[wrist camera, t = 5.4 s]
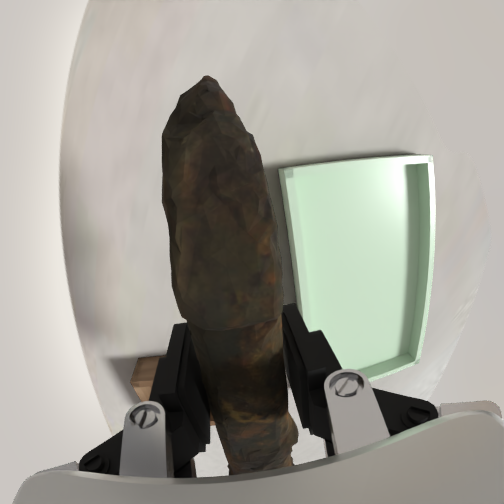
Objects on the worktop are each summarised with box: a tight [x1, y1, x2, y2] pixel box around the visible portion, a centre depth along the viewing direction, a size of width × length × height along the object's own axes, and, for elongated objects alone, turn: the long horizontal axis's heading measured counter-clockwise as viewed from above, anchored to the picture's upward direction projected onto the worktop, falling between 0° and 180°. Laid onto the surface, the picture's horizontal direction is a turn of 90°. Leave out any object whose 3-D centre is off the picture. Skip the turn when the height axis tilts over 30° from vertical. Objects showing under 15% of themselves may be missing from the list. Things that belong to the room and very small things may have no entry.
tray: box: [278, 154, 435, 382], centre depth 27 cm, size 25×15×2 cm, turn 10°
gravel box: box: [130, 355, 215, 426], centre depth 28 cm, size 8×8×4 cm
